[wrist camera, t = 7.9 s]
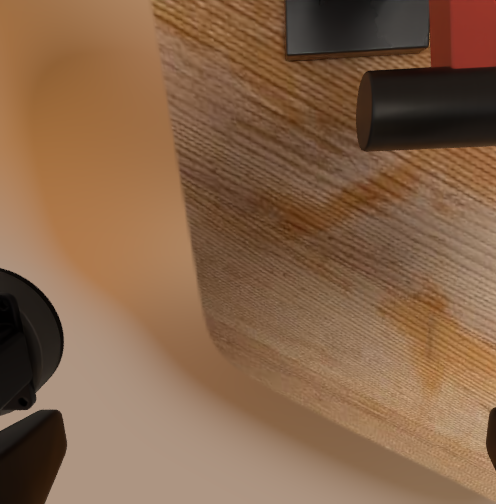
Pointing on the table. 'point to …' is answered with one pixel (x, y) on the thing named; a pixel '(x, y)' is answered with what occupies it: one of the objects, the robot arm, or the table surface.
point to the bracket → (354, 28)
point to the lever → (437, 87)
